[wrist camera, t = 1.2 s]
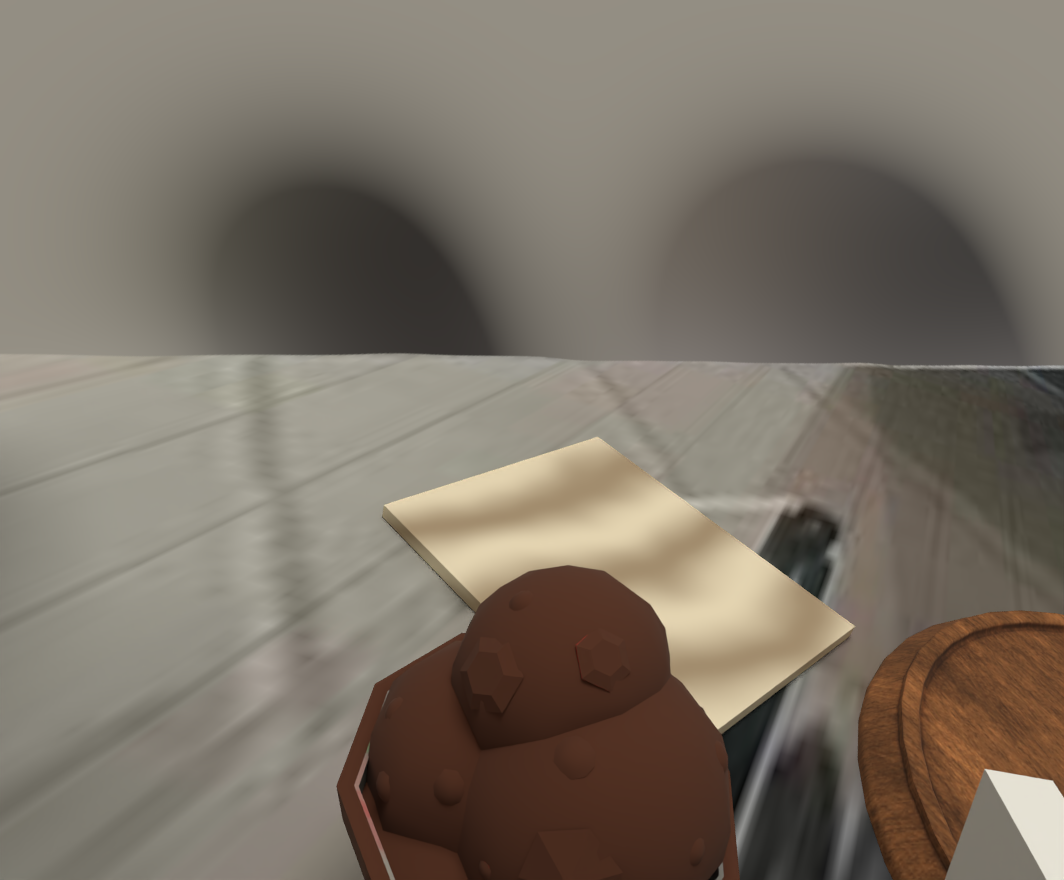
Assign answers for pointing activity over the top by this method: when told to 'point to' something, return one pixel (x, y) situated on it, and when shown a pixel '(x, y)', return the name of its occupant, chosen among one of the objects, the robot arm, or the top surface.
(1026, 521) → the top surface
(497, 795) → the chocolate ice cream sundae
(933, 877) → the cutting board
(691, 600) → the birch pad
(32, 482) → the top surface
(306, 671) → the top surface
